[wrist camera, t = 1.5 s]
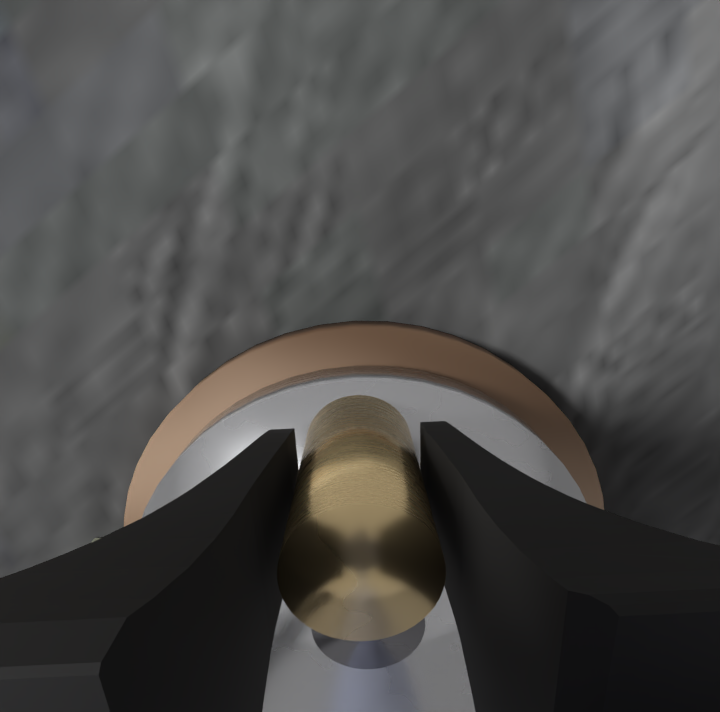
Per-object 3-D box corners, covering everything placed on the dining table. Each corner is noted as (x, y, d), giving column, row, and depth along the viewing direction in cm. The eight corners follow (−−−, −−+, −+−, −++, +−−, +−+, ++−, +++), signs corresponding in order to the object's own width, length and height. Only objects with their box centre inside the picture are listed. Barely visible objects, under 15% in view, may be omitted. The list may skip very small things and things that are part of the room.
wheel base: (567, 689, 18) (625, 818, 14) (142, 710, 18) (83, 844, 14) (616, 307, 13) (727, 342, 9) (38, 336, 13) (-95, 383, 9)
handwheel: (559, 707, 16) (664, 955, 11) (189, 725, 16) (105, 981, 11) (604, 353, 12) (814, 460, 6) (107, 377, 12) (-100, 505, 7)
